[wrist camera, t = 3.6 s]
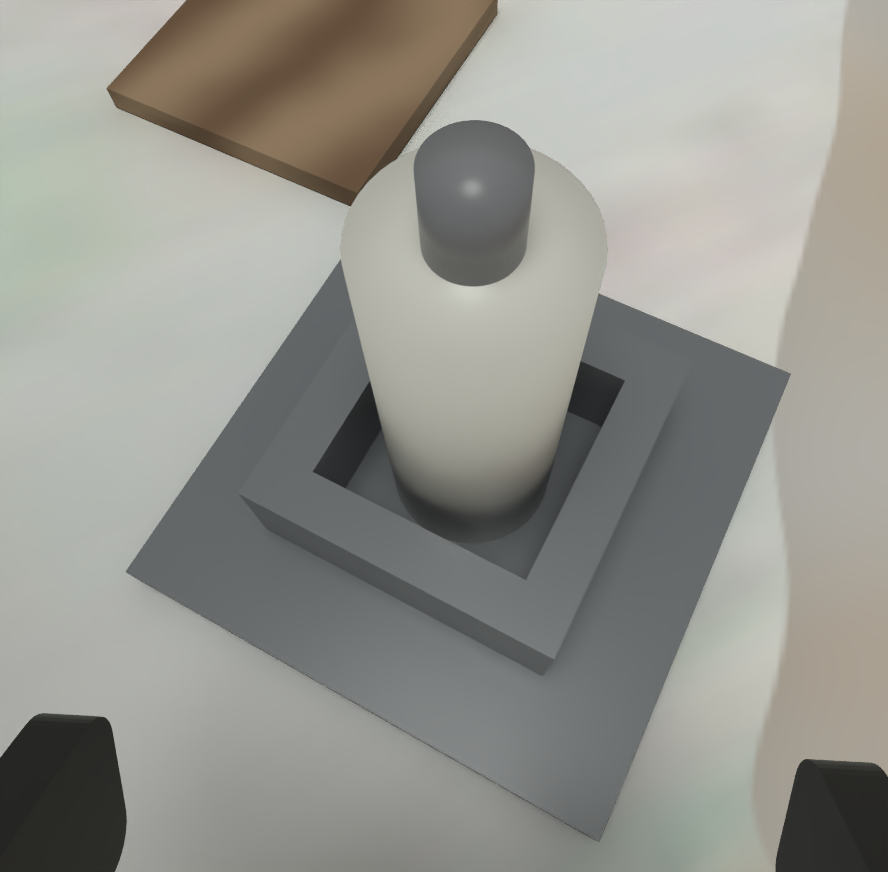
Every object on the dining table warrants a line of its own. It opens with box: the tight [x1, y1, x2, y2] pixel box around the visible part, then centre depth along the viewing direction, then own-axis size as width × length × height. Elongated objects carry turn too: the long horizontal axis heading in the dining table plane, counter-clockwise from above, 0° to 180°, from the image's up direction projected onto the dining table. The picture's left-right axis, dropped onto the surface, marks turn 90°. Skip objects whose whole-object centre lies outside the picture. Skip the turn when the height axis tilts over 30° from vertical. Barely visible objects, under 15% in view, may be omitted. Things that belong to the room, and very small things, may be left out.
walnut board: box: [107, 0, 498, 206], centre depth 34 cm, size 12×12×1 cm
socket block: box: [126, 260, 791, 841], centre depth 25 cm, size 16×16×4 cm
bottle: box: [340, 120, 608, 544], centre depth 20 cm, size 5×5×14 cm
